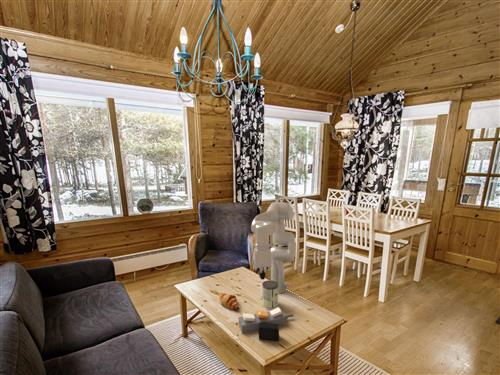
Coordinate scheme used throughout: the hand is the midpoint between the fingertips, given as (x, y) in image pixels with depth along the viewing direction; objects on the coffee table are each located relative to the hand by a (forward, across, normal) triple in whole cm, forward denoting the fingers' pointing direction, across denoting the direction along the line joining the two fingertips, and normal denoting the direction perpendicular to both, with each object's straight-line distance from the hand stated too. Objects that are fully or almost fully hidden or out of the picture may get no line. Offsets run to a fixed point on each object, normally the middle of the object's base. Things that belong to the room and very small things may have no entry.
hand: (262, 278), depth 137 cm
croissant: (+28, +14, -26) cm, 41 cm away
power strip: (+27, -3, 0) cm, 27 cm away
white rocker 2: (+21, -8, 0) cm, 23 cm away
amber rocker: (+21, 0, 0) cm, 21 cm away
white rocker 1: (+21, +8, 0) cm, 23 cm away
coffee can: (+27, -11, -17) cm, 34 cm away
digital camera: (+27, 0, +11) cm, 29 cm away
